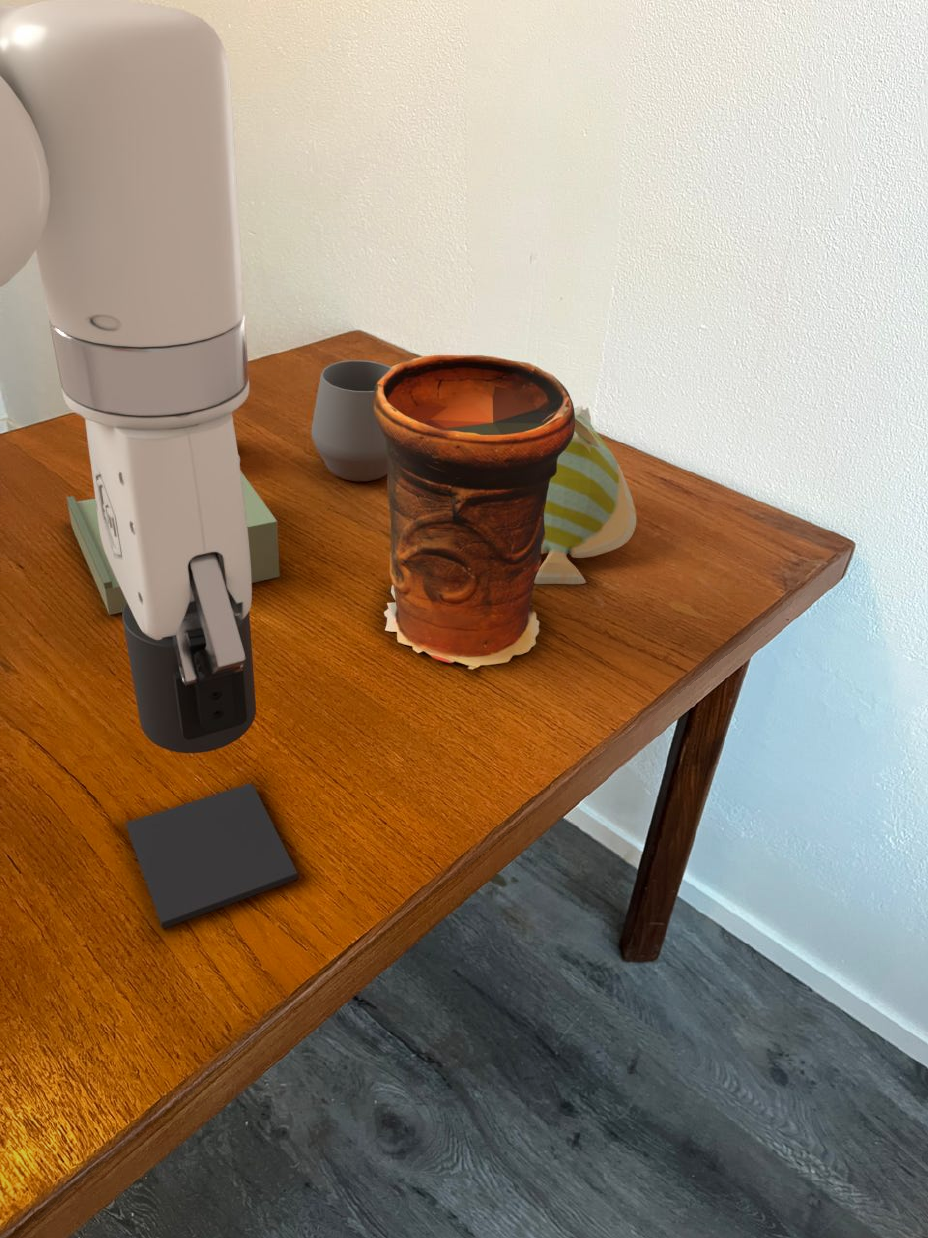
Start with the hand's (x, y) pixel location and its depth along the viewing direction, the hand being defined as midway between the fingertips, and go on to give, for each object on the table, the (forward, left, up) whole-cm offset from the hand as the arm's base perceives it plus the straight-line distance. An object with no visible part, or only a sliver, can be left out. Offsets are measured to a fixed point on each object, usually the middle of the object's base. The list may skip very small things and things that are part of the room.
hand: (194, 685), depth 51 cm
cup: (+28, +41, -14) cm, 51 cm away
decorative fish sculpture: (+39, +24, -14) cm, 48 cm away
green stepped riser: (+7, +33, -13) cm, 36 cm away
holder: (0, 0, -2) cm, 2 cm away
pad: (0, 0, -13) cm, 13 cm away
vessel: (+25, +15, -14) cm, 32 cm away
